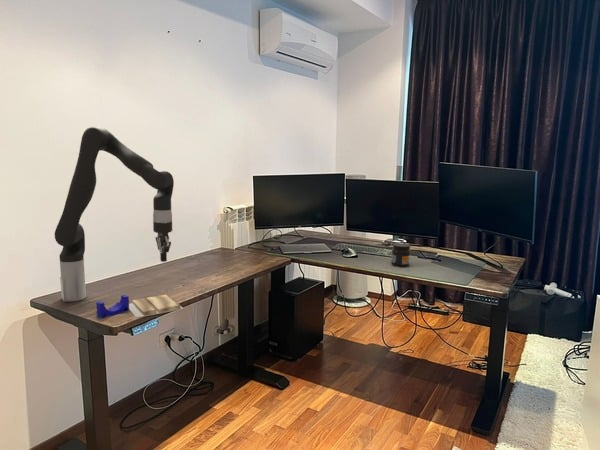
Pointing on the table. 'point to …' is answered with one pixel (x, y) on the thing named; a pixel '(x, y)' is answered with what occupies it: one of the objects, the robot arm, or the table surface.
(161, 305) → the click plank
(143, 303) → the laid plank
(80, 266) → the robot arm
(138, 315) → the plate
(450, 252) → the table surface
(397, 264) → the supplement container
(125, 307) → the blue cradle holder
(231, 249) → the table surface
